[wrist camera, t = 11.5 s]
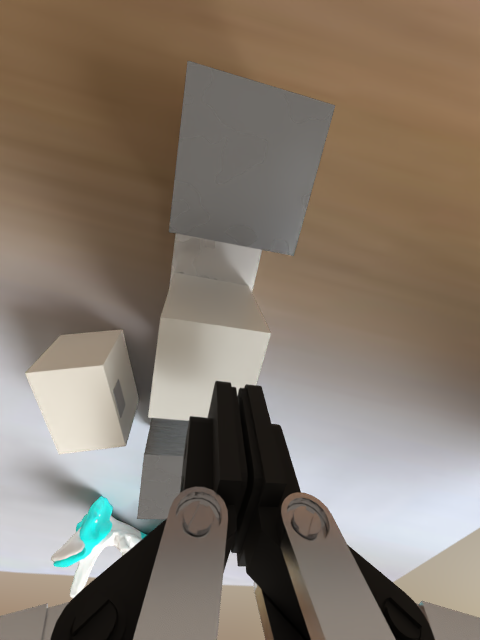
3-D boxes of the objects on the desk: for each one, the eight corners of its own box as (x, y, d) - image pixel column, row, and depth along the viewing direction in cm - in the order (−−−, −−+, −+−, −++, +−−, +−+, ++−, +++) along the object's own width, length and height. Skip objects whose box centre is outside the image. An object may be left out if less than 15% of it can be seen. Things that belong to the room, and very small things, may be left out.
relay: (123, 328, 20) (103, 365, 16) (140, 399, 23) (126, 445, 19) (60, 334, 20) (23, 373, 16) (84, 405, 22) (58, 454, 18)
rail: (284, 128, 16) (343, 87, 10) (215, 431, 25) (220, 525, 18) (192, 103, 15) (186, 38, 9) (153, 427, 24) (134, 524, 17)
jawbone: (97, 557, 29) (46, 670, 20) (98, 477, 29) (48, 551, 20) (221, 549, 30) (227, 651, 21) (222, 472, 30) (229, 540, 21)
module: (249, 285, 18) (272, 333, 12) (232, 355, 20) (245, 425, 14) (173, 272, 17) (159, 316, 11) (163, 346, 19) (146, 417, 13)
